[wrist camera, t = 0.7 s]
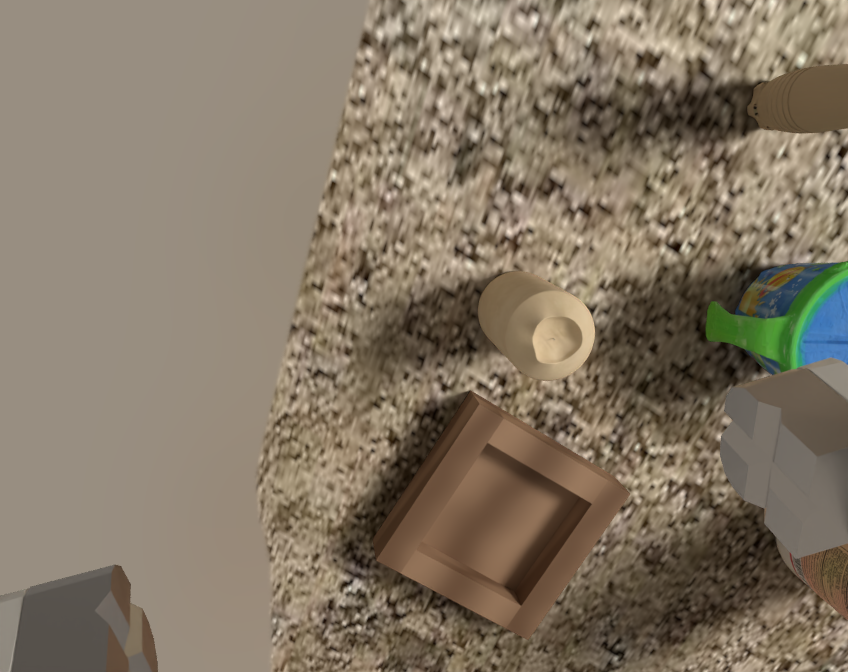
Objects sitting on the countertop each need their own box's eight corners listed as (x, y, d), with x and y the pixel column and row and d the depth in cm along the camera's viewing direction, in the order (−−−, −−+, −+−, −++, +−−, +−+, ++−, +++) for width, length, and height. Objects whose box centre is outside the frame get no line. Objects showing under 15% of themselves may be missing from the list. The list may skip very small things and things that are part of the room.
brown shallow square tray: (613, 476, 60) (630, 493, 57) (517, 615, 62) (528, 640, 59) (470, 390, 57) (479, 404, 54) (372, 539, 59) (376, 560, 56)
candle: (507, 363, 57) (547, 406, 48) (460, 304, 56) (492, 336, 46) (569, 314, 57) (621, 347, 47) (523, 253, 56) (567, 274, 46)
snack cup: (662, 367, 59) (732, 410, 49) (698, 223, 57) (779, 238, 47) (852, 398, 62) (955, 444, 52) (894, 261, 60) (1009, 282, 50)
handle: (741, 160, 56) (890, 163, 42) (726, 66, 55) (875, 35, 40) (806, 142, 57) (976, 138, 42) (792, 48, 55) (964, 10, 41)
